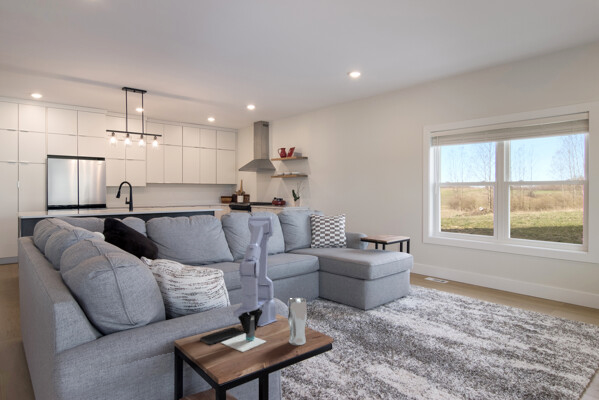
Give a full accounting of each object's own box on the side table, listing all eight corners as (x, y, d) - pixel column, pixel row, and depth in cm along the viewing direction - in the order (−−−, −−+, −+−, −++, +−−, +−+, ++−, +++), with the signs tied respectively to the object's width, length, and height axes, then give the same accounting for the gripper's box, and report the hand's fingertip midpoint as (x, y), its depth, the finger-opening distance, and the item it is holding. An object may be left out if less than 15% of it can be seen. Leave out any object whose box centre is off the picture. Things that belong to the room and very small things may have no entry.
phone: (198, 337, 131) (232, 326, 142) (198, 341, 131) (232, 329, 142) (211, 343, 125) (245, 331, 136) (211, 346, 125) (245, 334, 136)
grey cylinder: (252, 336, 132) (252, 314, 132) (256, 338, 129) (255, 316, 129) (244, 337, 130) (244, 315, 130) (247, 340, 127) (247, 318, 127)
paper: (244, 334, 136) (244, 333, 136) (266, 342, 128) (266, 341, 128) (220, 343, 127) (220, 342, 127) (242, 352, 120) (242, 351, 120)
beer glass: (309, 339, 130) (309, 298, 130) (303, 347, 123) (302, 303, 123) (291, 337, 132) (291, 296, 132) (284, 344, 126) (284, 301, 126)
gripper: (255, 288, 138) (255, 323, 138) (226, 296, 126) (227, 335, 126) (269, 291, 133) (269, 327, 134) (241, 300, 122) (241, 339, 122)
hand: (250, 331), depth 129 cm, fingers closed on grey cylinder, 3 cm apart
